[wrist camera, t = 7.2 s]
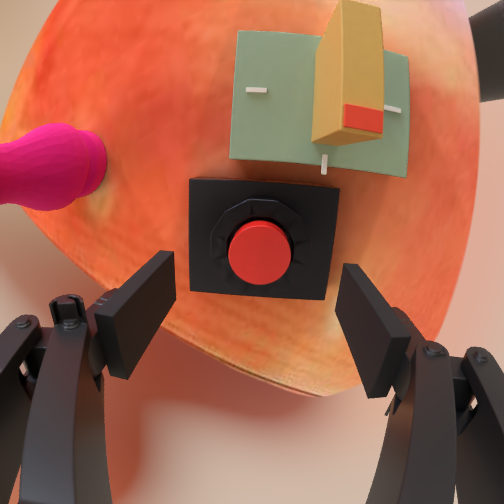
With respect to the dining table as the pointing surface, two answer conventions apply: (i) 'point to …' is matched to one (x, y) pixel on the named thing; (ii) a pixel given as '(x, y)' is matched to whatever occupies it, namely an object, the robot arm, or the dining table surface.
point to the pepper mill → (51, 167)
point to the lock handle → (349, 77)
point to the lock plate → (307, 108)
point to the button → (259, 252)
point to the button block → (269, 209)
